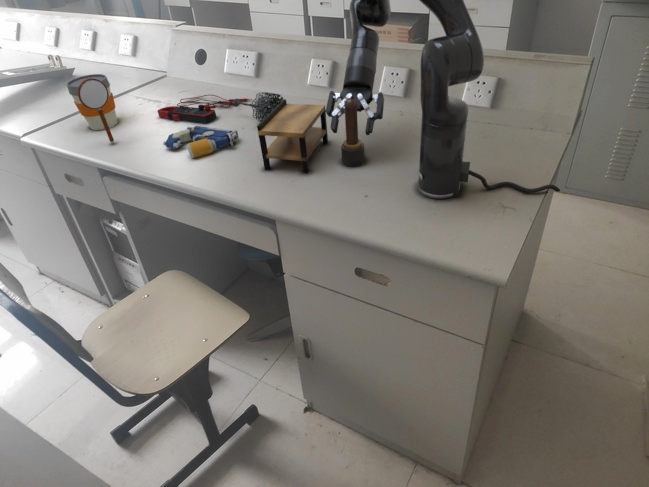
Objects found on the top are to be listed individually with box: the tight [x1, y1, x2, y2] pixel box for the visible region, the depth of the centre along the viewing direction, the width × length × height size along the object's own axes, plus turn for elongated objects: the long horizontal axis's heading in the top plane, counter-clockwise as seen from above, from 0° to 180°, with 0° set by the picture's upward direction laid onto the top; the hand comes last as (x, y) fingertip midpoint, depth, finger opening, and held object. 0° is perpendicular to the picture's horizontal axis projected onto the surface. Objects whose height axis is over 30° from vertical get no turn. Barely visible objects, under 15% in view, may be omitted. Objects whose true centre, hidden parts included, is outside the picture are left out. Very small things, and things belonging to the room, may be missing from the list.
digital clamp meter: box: [157, 94, 253, 125], centre depth 157 cm, size 23×4×25 cm
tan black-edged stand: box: [256, 98, 329, 174], centre depth 121 cm, size 12×18×12 cm, turn 162°
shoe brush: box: [340, 98, 366, 168], centre depth 114 cm, size 6×6×17 cm
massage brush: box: [233, 91, 288, 123], centre depth 143 cm, size 9×22×9 cm, turn 56°
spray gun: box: [162, 125, 240, 159], centre depth 133 cm, size 21×4×15 cm
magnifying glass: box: [78, 78, 115, 145], centre depth 135 cm, size 9×2×20 cm, turn 139°
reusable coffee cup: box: [66, 73, 118, 131], centre depth 150 cm, size 13×13×15 cm
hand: (350, 133), depth 114 cm, fingers open, 8 cm apart
